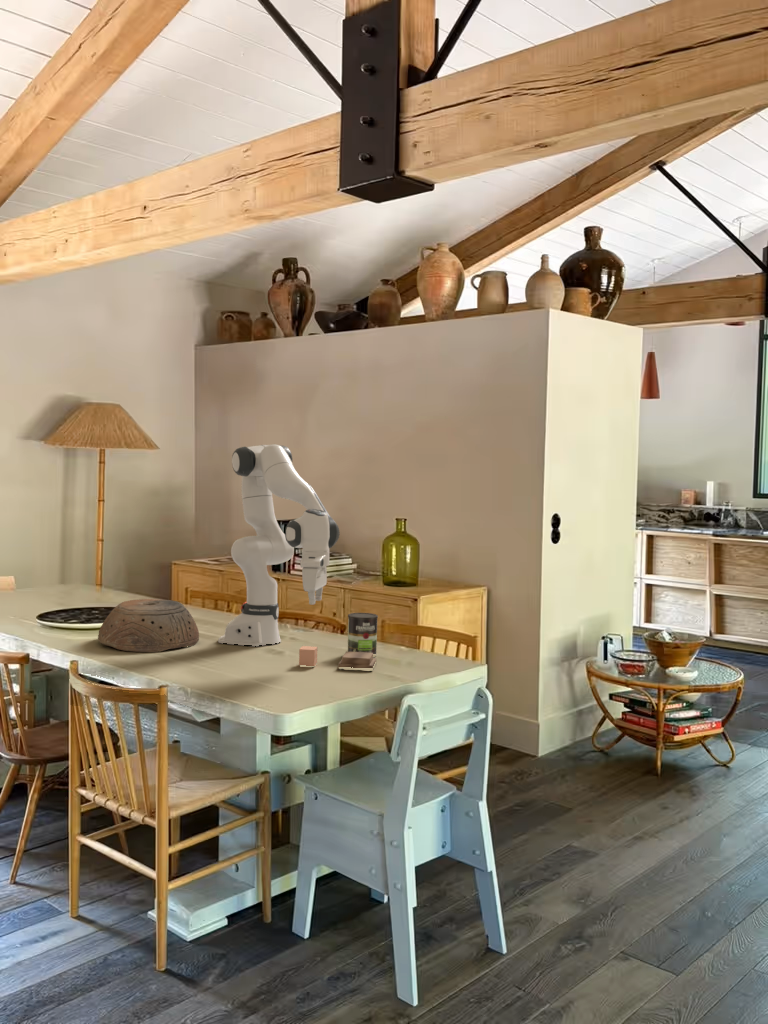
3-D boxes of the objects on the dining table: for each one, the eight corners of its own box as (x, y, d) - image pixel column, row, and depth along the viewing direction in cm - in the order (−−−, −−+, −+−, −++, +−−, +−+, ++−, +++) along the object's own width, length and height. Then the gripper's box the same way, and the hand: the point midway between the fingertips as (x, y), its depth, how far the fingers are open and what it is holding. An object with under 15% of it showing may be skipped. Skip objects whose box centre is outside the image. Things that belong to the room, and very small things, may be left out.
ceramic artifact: (84, 653, 313) (84, 610, 312) (112, 635, 349) (111, 595, 348) (189, 653, 314) (189, 609, 313) (206, 634, 350) (206, 595, 349)
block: (299, 667, 299) (299, 649, 298) (302, 664, 304) (302, 646, 303) (314, 668, 298) (314, 649, 298) (317, 664, 303) (317, 646, 303)
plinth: (338, 670, 296) (338, 657, 296) (343, 662, 307) (343, 650, 307) (372, 671, 295) (372, 659, 295) (376, 664, 306) (376, 652, 306)
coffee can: (380, 658, 316) (381, 617, 315) (350, 659, 313) (351, 617, 312) (372, 651, 326) (373, 612, 325) (344, 652, 323) (345, 612, 322)
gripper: (313, 557, 309) (312, 598, 310) (299, 562, 289) (298, 606, 289) (331, 557, 308) (331, 598, 309) (318, 562, 288) (318, 606, 289)
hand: (315, 602), depth 299 cm, fingers open, 8 cm apart
